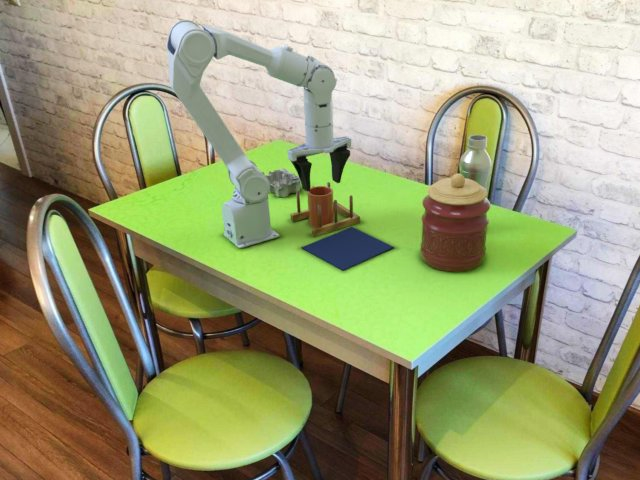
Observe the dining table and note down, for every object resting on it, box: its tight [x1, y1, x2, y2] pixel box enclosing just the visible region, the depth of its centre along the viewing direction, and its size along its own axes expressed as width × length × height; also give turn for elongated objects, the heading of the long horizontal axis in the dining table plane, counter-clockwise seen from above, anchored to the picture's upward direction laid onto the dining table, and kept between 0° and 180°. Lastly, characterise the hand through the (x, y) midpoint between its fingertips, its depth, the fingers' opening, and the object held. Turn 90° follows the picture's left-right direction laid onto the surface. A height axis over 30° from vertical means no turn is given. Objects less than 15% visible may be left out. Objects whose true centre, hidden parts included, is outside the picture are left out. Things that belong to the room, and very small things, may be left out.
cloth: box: [301, 226, 395, 272], centre depth 144 cm, size 14×13×1 cm
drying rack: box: [289, 181, 361, 238], centre depth 153 cm, size 12×10×7 cm
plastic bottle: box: [458, 134, 493, 191], centre depth 146 cm, size 6×7×20 cm
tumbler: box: [306, 185, 335, 228], centre depth 152 cm, size 6×6×8 cm
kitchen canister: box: [420, 173, 491, 272], centre depth 135 cm, size 13×13×18 cm
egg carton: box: [261, 168, 302, 198], centre depth 169 cm, size 11×8×4 cm
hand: (321, 185), depth 150 cm, fingers open, 7 cm apart
